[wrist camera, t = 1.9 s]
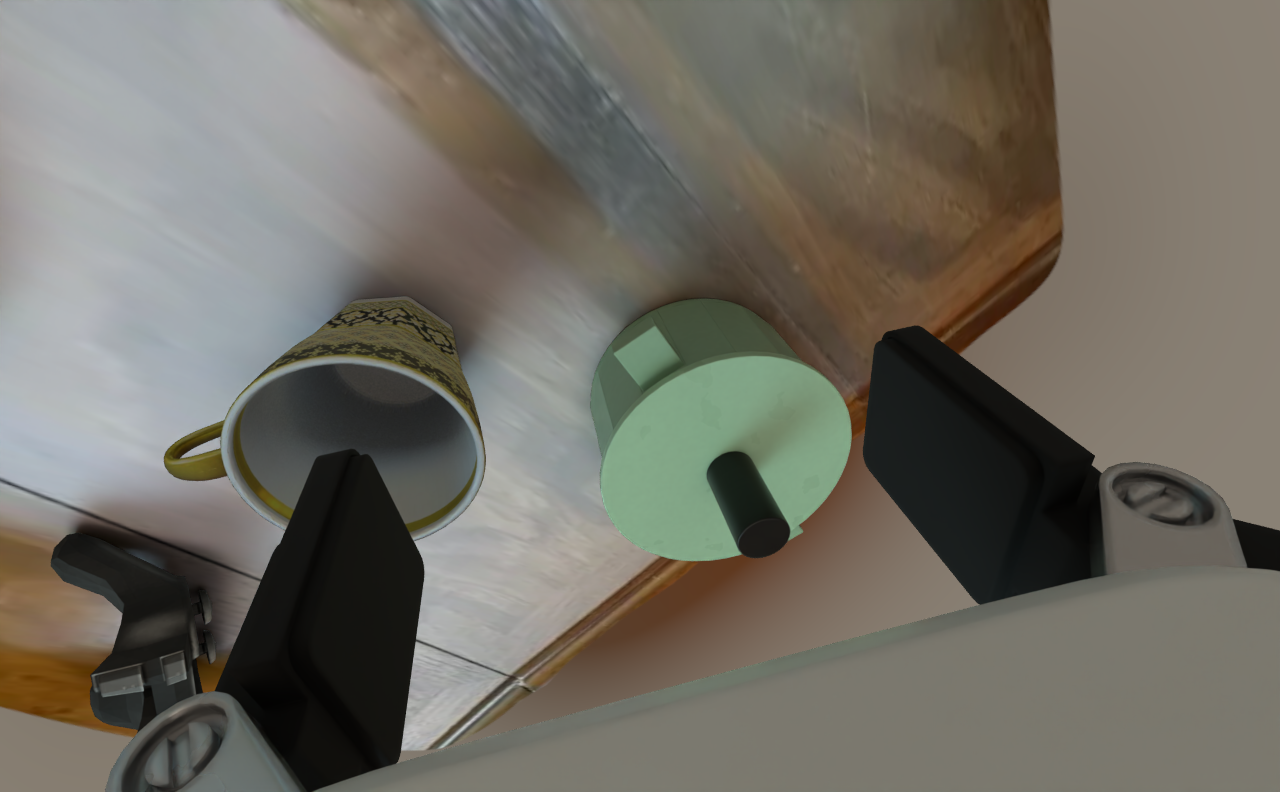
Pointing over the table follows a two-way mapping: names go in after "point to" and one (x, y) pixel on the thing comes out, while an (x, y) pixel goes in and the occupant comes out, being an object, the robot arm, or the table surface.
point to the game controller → (139, 631)
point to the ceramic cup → (354, 417)
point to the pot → (673, 353)
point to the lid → (725, 457)
